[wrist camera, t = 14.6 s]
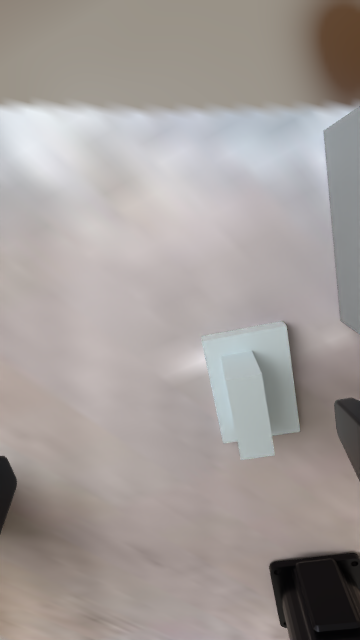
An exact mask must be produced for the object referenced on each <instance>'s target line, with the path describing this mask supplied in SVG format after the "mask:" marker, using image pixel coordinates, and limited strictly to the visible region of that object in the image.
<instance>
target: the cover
mask: <svg viewBox="0 0 360 640" xmlns="http://www.w3.org/2000/svg"><path fill="white" fill-rule="evenodd" d="M202 345H203V349H204V354H205V359H206V364H207V368H208V373H209V378H210V383H211V388H212V392H213V397H214V402H215V407H216V411H217V416H218V421H219V426H220V430H221V435H222V440H223V443H230V442H236V441H237V442H238V447H239V453H240V458H241V460H246V459H253V458H260V457H266V456H273V455H275V452H274V446H273V440H272V436H275V435H282V434H288V433H295V432H300V425H299V418H298V410H297V402H296V395H295V387H294V379H293V372H292V364H291V356H290V349H289V341H288V333H287V326H286V325H285V323H284V322H283V321H280V322H275V323H269V324H264V325H259V326H253V327H248V328H243V329H237V330H232V331H226V332H221V333H216V334H210V335H205V336H202Z"/></svg>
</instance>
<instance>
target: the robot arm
mask: <svg viewBox="0 0 360 640" xmlns="http://www.w3.org/2000/svg"><path fill="white" fill-rule="evenodd" d="M334 407H335V419H336V429H337V433H338V436H339V438H340V440H341V443H342V445H343V447H344V449H345V451H346V453H347V455H348V457H349V460H350V462H351V464H352V466H353V468H354V470H355V472H356V474H357V477H358V479H359V481H360V401H359V400H356V399H354V398H346V399H340V400H336V401H335V404H334ZM16 485H17V480H16V477H15V474H14V472H13V470H12V468H11V466H10V464H9V461H8V459H7V458H6V457H5V456H0V533H1V530H2V527H3V525H4V522H5V519H6V516H7V513H8V510H9V507H10V504H11V501H12V498H13V495H14V493H15V490H16ZM269 569H270V574H271V580H272V585H273V590H274V595H275V600H276V605H277V610H278V615H279V620H280V624H281V626H282V627H284V628H287V629H288V634H289V638H290V640H360V558H359V556H358V555H357V554H355V553H349V554H340V555H332V556H323V557H315V558H306V559H297V560H289V561H280V562H274V563H271V564H270V566H269Z"/></svg>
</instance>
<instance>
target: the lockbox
mask: <svg viewBox="0 0 360 640" xmlns="http://www.w3.org/2000/svg"><path fill="white" fill-rule="evenodd" d="M324 141H325V152H326V163H327V175H328V186H329V197H330V208H331V219H332V230H333V242H334V253H335V264H336V275H337V286H338V298H339V309H340V320H341V321H342V322H343V323H345V324H346V325H347V326H349V327H350V328H352V329H353V330H354V331H356V332H357V333H358V334H360V107H358V108H357V109H355V110H354V111H352V112H351V113H349V114H348V115H346V116H345V117H343V118H342V119H340V120H339V121H337V122H336V123H335V124H333V125H332V126H330V127H329V128H327V129H326V130H324Z"/></svg>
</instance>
